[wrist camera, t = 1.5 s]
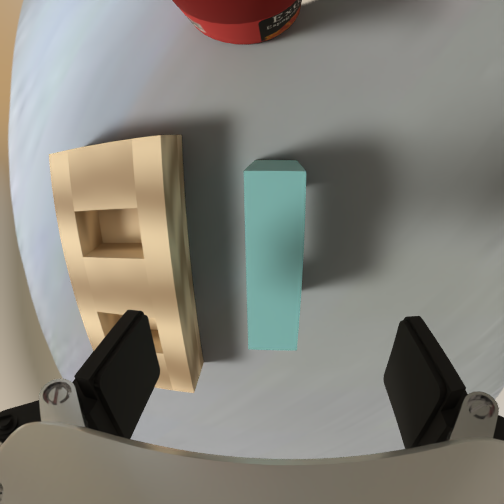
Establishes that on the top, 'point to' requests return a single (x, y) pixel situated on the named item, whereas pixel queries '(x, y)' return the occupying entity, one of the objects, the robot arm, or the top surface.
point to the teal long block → (274, 251)
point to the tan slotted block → (131, 245)
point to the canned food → (241, 18)
